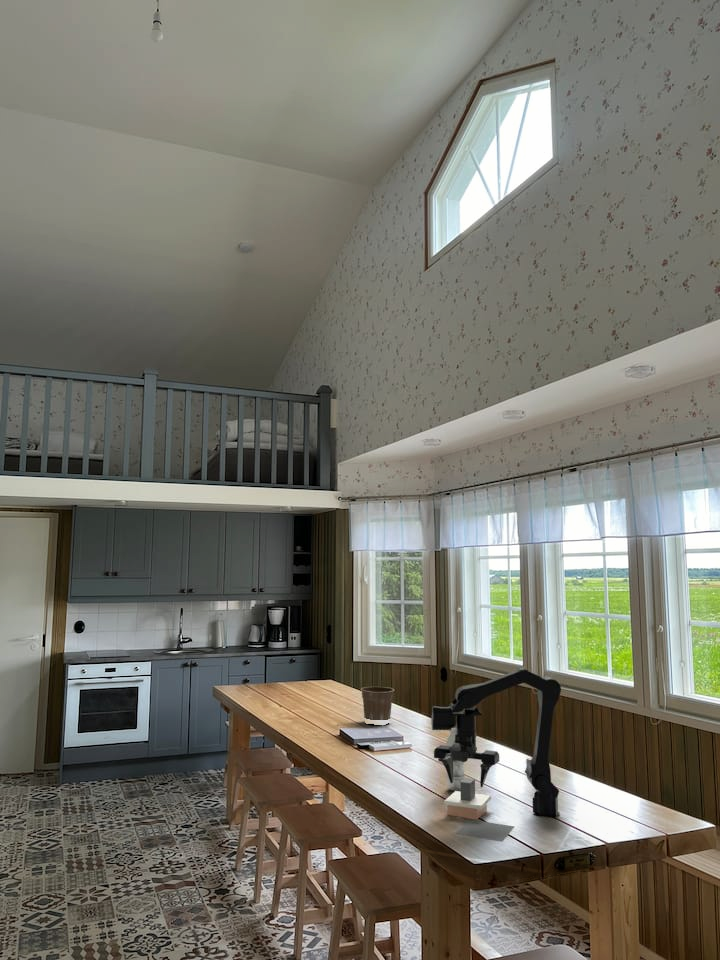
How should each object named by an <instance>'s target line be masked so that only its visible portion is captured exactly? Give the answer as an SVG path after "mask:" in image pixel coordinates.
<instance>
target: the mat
mask: <svg viewBox="0 0 720 960" xmlns="http://www.w3.org/2000/svg"><path fill="white" fill-rule="evenodd" d="M513 829H515V826H514V825H513V826H512V825H510V824H509V825H508V824H507V825H506V824H503V823H494V822H488V821H483V820H478V819H477V820H476V819H470V818H469V819H468V820H467V821H466V822H465V823H464V824H463V825H462V826H461V827H460V828H459V829H458V830H457V831H456V832H455V834H456V835H461V836H467V837H473V838H474V837H475V838H479V839H485V840H490V841H496V842H503V841H504V840H505V839H506V838H507V837H508V836H509V834H510V833H511V832H512V831H513ZM455 834H454V835H455Z"/></svg>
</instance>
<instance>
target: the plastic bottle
mask: <svg viewBox="0 0 720 960" xmlns="http://www.w3.org/2000/svg"><path fill="white" fill-rule="evenodd" d="M455 735H456V725H455V727H453V728H451V730H449V736H448V737H447V739H446V742H445V746H451V747H452V745H453V743H454V742H455ZM464 763H465V762H461V761H453V772H454V778H453V783H451V782H450V779H449V776H448V774H447V773H446V778H445V785H446V788H447V790H450V791H453V792H455V791H459V792H461V786H460V782H461V781H462V780H463V779H464V778H466V776H465V769H464V767H465V766H464Z"/></svg>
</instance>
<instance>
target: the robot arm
mask: <svg viewBox="0 0 720 960" xmlns="http://www.w3.org/2000/svg"><path fill="white" fill-rule="evenodd" d="M521 684H526V685H527V686H528V685H529V686H530V687H532V688H534V689H536V694H537V702H538V714H537V724H536V733H535V741H534V751H533V756H532V758H531V759H529V758H526V766H525V767H526V768H525V770H524V773H525V774H526V778H527V781H528V782H529V783H530V784H531V786H532V787H533V788H534V790H535V791H534V792H533V793H534V796H533V797H532V815H533V816H536V817H543V818H549V819H550V818H551V819H556V818H558V817H559V815H560V814H561V813H560V811H559V799H558V797H559V793H560V790H559V789H558V787H557V786H556V785H555V784H554V783H553V782H552V775H551V773H552V772H551V767H550V766H551V765H550V758H549V756H550V746H551V740H552V738H551V737H552V731H553V730H552V728H553V721H554V712H555V708H556V707H557V705H558V702H559V699H560V696H561V692H562V685H561V684H560V683H559V682H558V680H556V679H554V678H553V677H551V676H546V675H545V676H540V675H537V674H536V673H533V672H531V671H529V670H528V669H526V668H524V667H519V668H516V669H515V670H513V671H510V672H509V673H508V672H507V673H505V674H503V675H500V676H498V677H495V678H492V679H489V680H487V681H485V682H482V683H474V684H473V683H471V684H468V685H462V686H459V687H457V689H456V691H455V695H454V698H453V700H452V701H451V702H450V704H449V705H448V706H436V705H433V706H432V708H431V711H432V712H431V717H430V718H431V719H430V721H431V731H450V730H451V728H453V727H455V726H456V735H455V742H454V743H453V745H452V747H451V746H446V744H445V745H444V744H440V745H438V746H436V748H434V751H433V758H434V759H437V760H438V762H441V764H442V765H444V768H445V770H446V775H447V774H448V776H449V779H450V782H451V783H453V778H454V772H453V761H461V762H464V763H466V762H467V761H468V759H470V760H471V759H472V760H480V761H481V762H482V763H481V764H480V783H479V784H480V788H483V787H484V784H485V781H486V778H487V776H488V773H489V770H490V769H491V768H492V767H493V766H496V764H498V763H499V762H500V753H499V752H498V751H496V750H487V749H486V750H484V751H483V752H477V751H478V747H477V736H478V734H477V732H476V731H477V730H476V729H477V728H476V726H477V725H476V724H477V723H476V722H477V721H476V717H477V716H478V717H481V716H483V713H482V712H481V711H480V710H479V709H478V707H477V705H478V704H480V703H481V702H483V701H484V700H485V699H486V698H488V697H490V696H493V695H495V694H497V693H500V692H503V691H505V690H509V689H511V688H514V687H516V686H518V685H521ZM455 716H456V717H455ZM455 724H456V725H455Z"/></svg>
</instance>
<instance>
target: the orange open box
mask: <svg viewBox="0 0 720 960" xmlns="http://www.w3.org/2000/svg"><path fill="white" fill-rule="evenodd" d="M487 804H488V803H487ZM487 804H486V805H485V806H484V807H483V808H482V809H474V808H467V807H460V806H452V805H446V806H447V815H448V816H454V817H460V818H466V819H469V820H470V819H471V820H477V821H478V820H479V818H481V817H482V816H483V815H484V814H485V813H486V812H487V810H488V809H487V806H488V805H487Z"/></svg>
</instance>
